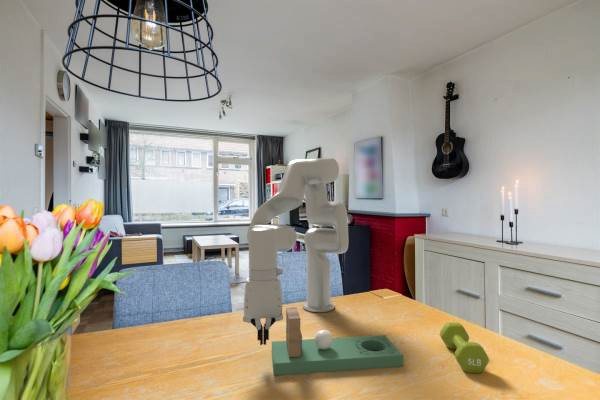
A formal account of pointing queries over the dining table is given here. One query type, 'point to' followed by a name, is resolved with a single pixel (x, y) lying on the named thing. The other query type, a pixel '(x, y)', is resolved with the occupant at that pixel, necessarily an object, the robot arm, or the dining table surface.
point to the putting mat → (337, 355)
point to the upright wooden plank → (293, 332)
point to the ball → (323, 339)
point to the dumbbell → (464, 348)
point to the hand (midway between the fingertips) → (263, 342)
